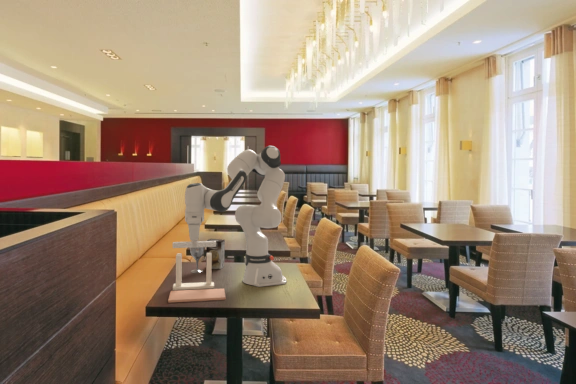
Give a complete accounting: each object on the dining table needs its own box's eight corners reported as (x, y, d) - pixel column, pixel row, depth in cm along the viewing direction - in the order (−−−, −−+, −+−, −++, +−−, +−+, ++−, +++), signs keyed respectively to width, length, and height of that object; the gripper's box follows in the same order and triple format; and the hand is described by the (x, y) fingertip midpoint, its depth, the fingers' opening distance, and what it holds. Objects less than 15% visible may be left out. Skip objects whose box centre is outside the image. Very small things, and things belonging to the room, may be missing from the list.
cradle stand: (213, 284, 180) (214, 252, 179) (214, 288, 174) (214, 255, 173) (173, 286, 176) (173, 253, 175) (172, 290, 170) (172, 256, 169)
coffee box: (205, 268, 208) (205, 240, 207) (209, 265, 214) (210, 238, 213) (220, 269, 206) (221, 241, 205) (224, 266, 213) (225, 239, 212)
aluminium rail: (215, 245, 177) (215, 240, 177) (216, 246, 175) (216, 241, 175) (173, 247, 173) (172, 242, 172) (172, 248, 170) (172, 243, 170)
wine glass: (206, 270, 204) (207, 243, 203) (200, 273, 196) (200, 246, 196) (194, 268, 206) (194, 242, 205) (187, 272, 198) (187, 245, 197)
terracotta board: (224, 290, 171) (224, 288, 171) (225, 299, 159) (225, 297, 159) (170, 293, 166) (170, 290, 166) (168, 302, 154) (168, 300, 154)
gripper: (188, 214, 182) (188, 241, 183) (186, 220, 162) (186, 251, 163) (201, 214, 183) (201, 241, 184) (201, 220, 164) (201, 250, 165)
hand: (194, 246), depth 174 cm, fingers closed on aluminium rail, 2 cm apart
